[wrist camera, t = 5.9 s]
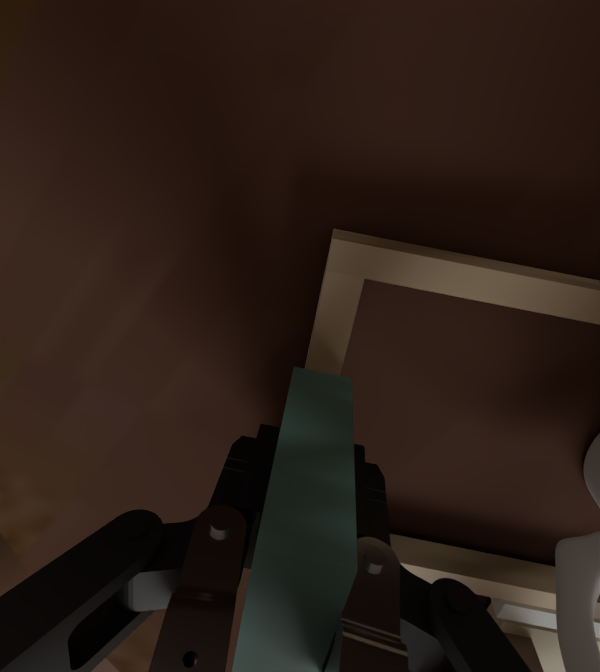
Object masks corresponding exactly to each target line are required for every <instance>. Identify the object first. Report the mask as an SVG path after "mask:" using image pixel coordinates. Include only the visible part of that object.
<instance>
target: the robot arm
mask: <svg viewBox="0 0 600 672" xmlns="http://www.w3.org/2000/svg"><path fill="white" fill-rule="evenodd" d="M280 429H281V428H278V427H274V426H269V425H264V424H261V425H260V428H259V431H258V434H257V438H251V437H246V436H241V437H240V438H239V439H238V440H237V441H236V442H235V443H233V444H232V446H231V449H230V452H229V454H228V457H227V459H226V462H225V464H224V468H223V470H222V472H221V475H220V477H219V480H218V482H217V485H216V488H215V490H214V493H213V495H212V498H211V501H210V503H209V505H208V507H207V508H206V509H205V510H204V511H203V512H201V513H200V515H199V516H198V517H196V518H194V519H192V520H189V521H186V522H179V523H167V524H163V523H162V521H161V519H160V518H159V517H158V515H156V514H155V513H153V512H151V511H147V510H132V511H128V512H126V513H123V514H121V515H120V516H118V517H117V518H115V519H114V520H112V521H111V522H109V523H108V524H106V525H105V526H103V527H102V528H100V529H99V530H98V531H96V532H95V533H93V534H92V535H90V536H89V537H87V538H86V539H84V540H83V541H81V542H80V543H78V544H77V545H75V546H74V547H73V548H71V549H70V550H68V551H67V552H65V553H64V554H62V555H61V556H59V557H58V558H56V559H55V560H53V561H52V562H50V563H49V564H48V565H46V566H45V567H43V568H42V569H40V570H39V571H37V572H36V573H34V574H33V575H31V576H30V577H28V578H27V579H25V580H24V581H23V582H21V583H20V584H18V585H17V586H15V587H14V588H12V589H11V590H9V591H8V592H6V593H5V594H4V595H2V596H1V597H0V672H91V671H92V670H93V669H94V668H95V667H96V666H97V665H98V664H99V663H100V662H101V661H102V660H103V659H104V658H105V657H107V656H108V655H109V654H110V653H111V652H112V651H113V650H114V649H115V648H116V647H117V646H118V645H119V644H120V643H121V642H122V641H123V640H125V639H126V638H127V637H128V636H129V635H130V634H131V633H132V632H133V631H134V630H135V629H136V628H137V627H138V626H139V625H140V624H141V623H142V622H144V621H145V620H146V619H147V618H148V617H149V616H150V615H151V614H152V613H153V612H154V610H157V609H164V608H167V610H166V613H165V617H164V620H163V624H162V627H161V630H160V634H159V637H158V641H157V644H156V647H155V651H154V654H153V658H152V661H151V664H150V668H149V671H148V672H225V669H226V662H227V656H228V649H229V643H230V636H231V630H232V623H233V616H234V610H235V603H236V595H237V588H238V586H239V583H240V579H241V575H242V571H243V567H244V568H248V569H251V565H252V561H253V556H254V551H255V546H256V541H257V536H258V532H259V527H260V522H261V518H262V513H263V508H264V504H265V499H266V494H267V490H268V485H269V480H270V476H271V471H272V466H273V462H274V457H275V452H276V447H277V443H278V438H279V433H280ZM354 466H355V498H356V530H357V561H358V571H357V574H356V576H355V579H354V582H353V585H352V587H351V590H350V593H349V596H348V598H347V601H346V604H345V607H344V609H343V610H342V611H341V614H340V616H339V619H338V622H337V629H336V631H335V634H334V637H333V640H332V642H331V645H330V648H329V651H328V653H327V656H326V659H325V662H324V661H323V663H322V666H321V669H320V672H532V671H531V670H530V668H529V667H528V666H527V664H526V663H525V662H524V660H523V659H522V658H521V656H520V655H519V653H518V652H517V651H516V649H515V648H514V647H513V645H512V644H511V642H510V641H509V640H508V638H507V637H506V636H505V634H504V633H503V631H502V630H501V629H500V627H499V626H498V625H497V623H496V622H495V620H494V619H493V618H492V616H491V615H490V614H489V612H488V611H487V609H486V608H485V607H484V605H483V604H482V603H481V601H480V600H479V598H478V597H477V596H476V595H475V593H474V592H473V591H472V590H471V589H470V588H468V587H467V586H466V585H464V584H463V583H461V582H459V581H457V580H454V579H451V578H440V579H438V580H436V581H434V582H433V583H432V584H431V583H429V582H427V581H425V580H423V579H422V578H420V577H418V576H416V575H414V574H413V573H411V572H409V571H408V570H407V569H406V568H404V567H403V566H402V565H401V564H400V562H399V560H398V558H397V555H396V554H395V552H394V551H393V550H392V548H391V543H390V532H389V521H388V511H387V504H386V502H387V500H386V493H385V491H386V489H385V479H384V476H383V474H382V472H381V471H380V469H379V467H378V465H376V464H371V463H367V462H365V449H364V446H362V445H357V444H354Z"/></svg>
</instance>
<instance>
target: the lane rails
mask: <svg viewBox="0 0 600 672" xmlns="http://www.w3.org/2000/svg"><path fill="white" fill-rule="evenodd" d="M490 598H491V602H492V605H493V608H494V611H495V614H496V617H497V618H502V619H507V620H512V621H517V622H522V623H527V624H532V625H537V626H542V627H547V628H552V629H557V622H556V610H552V609H547V608H542V607H537V606H532V605H527V604H522V603H517V602H512V601H507V600H502V599H497V598H493V597H490ZM594 629H595V635H596V638H600V619H596V618H594Z"/></svg>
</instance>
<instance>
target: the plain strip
mask: <svg viewBox="0 0 600 672" xmlns="http://www.w3.org/2000/svg"><path fill="white" fill-rule="evenodd" d="M487 611H488V612H489V614H490V615H491V616H492V618H493V619H494V620H495V622H496V623H497V625H498V626H499V627H500V629H501V630H502V631H503V633H504V634H505V636H506V637H507V638H508V640H509V641H510V642H511V644H512V645H513V647H514V648H515V649H516V651H517V652H518V653H519V655H520V656H521V658H522V659H523V660H524V662H525V663H526V664H527V666H528V667H529V668H530V670H531V671H532V672H566V671H565V667H564V664H563V660H562V655H561V651H560V646H559V641H558V634H557V629H552V628H547V627H542V626H537V625H532V624H527V623H522V622H517V621H512V620H507V619H502V618H497V617H496V614H495V611H494V608H493V605H492V602H491V604H490V605H489V607H488V608H487ZM596 640H597V645H598V648H599V652H600V638H596Z"/></svg>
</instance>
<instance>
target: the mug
mask: <svg viewBox="0 0 600 672" xmlns="http://www.w3.org/2000/svg"><path fill="white" fill-rule="evenodd" d="M583 472H584V479H585V482H586V485H587V488H588V490H589V492H590V493H591V495H592V497H593V498H594V500H595V501H596V503H597V504H598V506H599V508H600V433H599V434H598V435H597V436H596V438H595V439H594V441H593V442H592V444H591V445H590V447H589V449H588V452H587V454H586V457H585V461H584V469H583ZM555 570H556V622H557V634H558V641H559V646H560V651H561V655H562V660H563V664H564V667H565V671H566V672H600V652H599V648H598V645H597V640H596V635H595V629H594V611H595V606H596V602H597V599H598V597H599V595H600V530H599V531H597V532H594V533H591V534H588V535H584V536H578V537H570V538H565V539H562V540H560V541H559V542H558V543H557V545H556V549H555Z"/></svg>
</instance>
